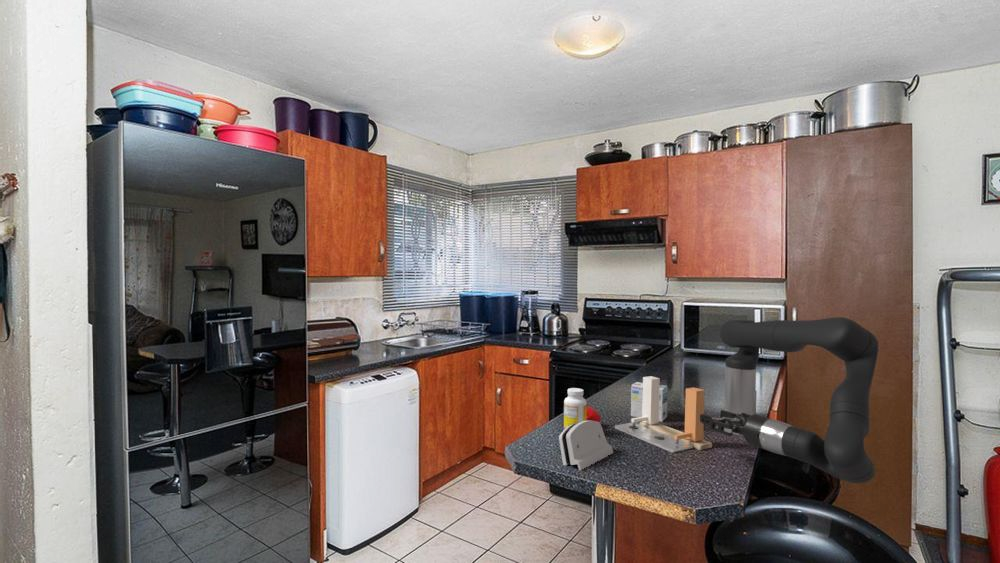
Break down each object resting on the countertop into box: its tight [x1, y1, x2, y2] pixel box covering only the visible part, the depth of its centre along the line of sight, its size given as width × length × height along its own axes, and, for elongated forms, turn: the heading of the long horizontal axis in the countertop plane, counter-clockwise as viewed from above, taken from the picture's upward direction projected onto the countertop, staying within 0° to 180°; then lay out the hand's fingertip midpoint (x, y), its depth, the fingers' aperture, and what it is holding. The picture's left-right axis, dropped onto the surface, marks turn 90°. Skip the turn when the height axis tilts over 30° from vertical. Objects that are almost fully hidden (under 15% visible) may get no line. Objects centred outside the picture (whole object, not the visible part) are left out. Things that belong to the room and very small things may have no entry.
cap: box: [586, 406, 602, 425], centre depth 142 cm, size 8×6×6 cm
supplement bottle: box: [563, 387, 588, 431], centre depth 136 cm, size 7×7×13 cm
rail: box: [638, 421, 713, 451], centre depth 135 cm, size 5×22×1 cm, turn 29°
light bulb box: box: [630, 381, 668, 423], centre depth 154 cm, size 11×7×11 cm, turn 58°
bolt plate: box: [614, 422, 693, 454], centre depth 133 cm, size 8×22×1 cm, turn 29°
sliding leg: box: [674, 386, 706, 444], centre depth 127 cm, size 9×4×14 cm, turn 119°
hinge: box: [558, 420, 614, 471], centre depth 118 cm, size 17×5×10 cm, turn 138°
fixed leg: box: [630, 375, 661, 427], centre depth 141 cm, size 9×4×14 cm, turn 119°
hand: (711, 415), depth 124 cm, fingers open, 8 cm apart
